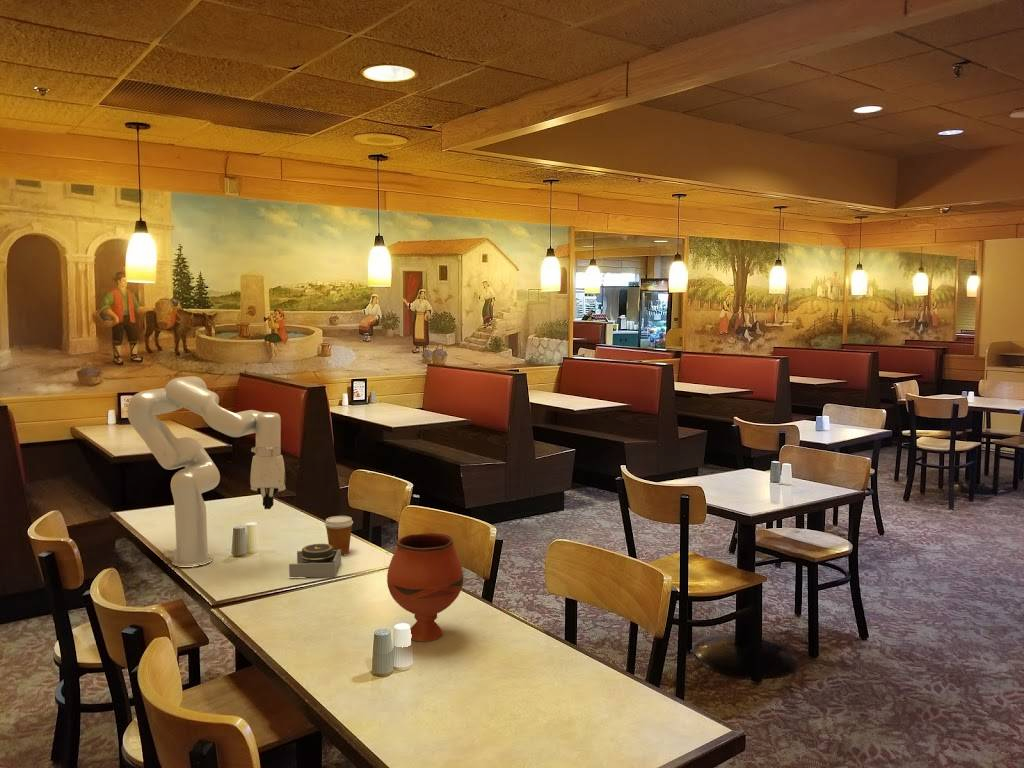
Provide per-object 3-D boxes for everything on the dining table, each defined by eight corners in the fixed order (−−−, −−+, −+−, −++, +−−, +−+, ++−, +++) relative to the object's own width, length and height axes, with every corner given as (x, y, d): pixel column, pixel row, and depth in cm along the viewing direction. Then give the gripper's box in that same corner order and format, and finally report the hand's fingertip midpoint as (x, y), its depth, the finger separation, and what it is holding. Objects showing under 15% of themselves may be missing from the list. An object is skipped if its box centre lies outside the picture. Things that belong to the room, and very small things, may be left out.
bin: (289, 578, 245) (289, 563, 245) (297, 564, 259) (297, 549, 259) (335, 577, 247) (334, 561, 246) (341, 563, 260) (340, 548, 260)
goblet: (474, 625, 209) (474, 533, 206) (444, 655, 191) (443, 554, 188) (409, 616, 215) (408, 526, 213) (374, 644, 197) (372, 546, 195)
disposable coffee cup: (350, 557, 266) (349, 522, 265) (322, 557, 267) (321, 522, 265) (356, 549, 276) (355, 515, 275) (329, 549, 276) (328, 515, 275)
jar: (324, 577, 247) (324, 553, 246) (296, 574, 249) (295, 551, 249) (339, 567, 256) (339, 544, 256) (312, 564, 259) (311, 542, 258)
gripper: (240, 453, 247) (241, 510, 249) (289, 454, 248) (289, 511, 250) (247, 449, 255) (247, 504, 256) (294, 449, 255) (294, 505, 257)
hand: (268, 508), depth 253 cm, fingers closed
